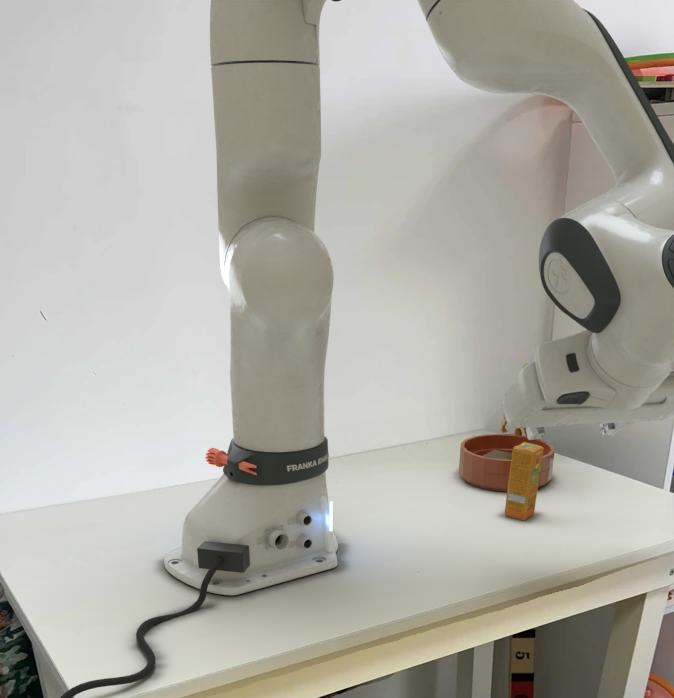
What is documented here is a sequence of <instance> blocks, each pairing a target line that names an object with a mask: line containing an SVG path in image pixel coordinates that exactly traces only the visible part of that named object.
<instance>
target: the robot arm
mask: <svg viewBox="0 0 674 698" xmlns="http://www.w3.org/2000/svg"><path fill="white" fill-rule="evenodd" d="M331 1H332V2H335V3H336V2H340V1H342V0H331ZM326 2H327V0H210V8H209V9H210V11H209V51H210V52H209V53H210V71H211V72H210V73H211V88H212V105H213V118H214V119H213V121H214V134H215V137H214V138H215V149H216V150H215V151H216V190H217V191H216V193H217V194H216V195H217V220H218V221H217V222H218V224H217V225H218V244H219V245H218V247H219V248H218V249H219V266H220V274H221V277H222V280H223V283H224V285H225V287H226V289H227V292H228V295H229V313H230V314H229V318H230V319H229V322H230V323H229V325H230V363H229V365H230V366H229V367H230V368H229V381H230V400H231V417H232V435H233V437H232V439H231V440H230V443H229V445H228V449H227V452H226V451H224V450H220V449H218V448H217V447H210V448H209V449H207V452H206V453H205V459H206V460H205V461H206V462H207V463H208V464H209V465H211V466H215V467H217V468H222V475H221V476H220V477H219V478H218V480H217V481H216V482H215V483H214V484H213V485H212V486H211V487H210V489H209V490H208V491H207V492H206V493H205V494H204V495H203V496H202V497H201V498H200V499H199V501H198V502H197V503H196V504H195V505H194V506H193V507H192V508H191V509H190V510H189V511H188V512H187V514H186V515H185V517H184V519H183V523H182V532H181V546H180V547H178V548H176V549H174V550H172V551H170V552H168V553H165V555H164V560H163V565H164V568H165V570H167V572H168V573H169V574H170V575H171V576H173V577H174V578H176V579H177V580H179V581H180V582H183V583H185V584H187V585H188V586H191V587H193V588H196V589H199V595H198V598H197V600H196V601H195V602H193V604H192V605H190V606H189V607H188V608H186V609H184V610H181V611H178V612H175V613H169V614H165V615H159V616H153V617H151V618H148V619H146V620H144V621H143V622H142V623H141V624H140V625H139V627H138V628H137V630H136V633H135V636H136V637H135V638H136V641H137V643H138V646H139V647H140V648H141V650H142V651H143V652H144V654H145V656H146V658H147V664H146V665H145V667H144V668H143V669H141V670H140V671H138V672H136V673H133V674H129V675H124V676H117V677H107V678H99V679H95V680H89V681H86V682H82V683H79V684H77V685H75V686H73V687H71V688H69V689H68V690H67V691H65V692H64V693H63V694H62V695H61V696H60V697H59V698H74V697H75V696H76V695H79V694H81V693H83V692H85V691H89V690H92V689H97V688H104V687H111V686H120V685H127V684H131V683H135V682H138V681H141V680H143V679H145V678H146V677H147V676H149V675H150V674H151V673H152V671H153V670H154V668H155V665H156V655H155V652H154V651H153V650H152V648H151V647H150V645H149V644H148V642H147V641H146V639H145V637H144V633H145V632H146V630H147V629H148V628H150V627H152V626H154V625H157V624H161V623H165V622H168V621H171V620H174V619H177V618H180V617H183V616H186V615H189V614H192V613H195V612H196V611H198V609H200V608H201V607H202V606H203V604H204V603H205V601H206V597H207V592H208V593H211V594H216V595H224V596H237V595H241V594H244V593H249V592H252V591H257V590H260V589H263V588H267V587H271V586H275V585H277V584H281V583H285V582H289V581H292V580H295V579H296V580H297V579H300V578H302V577H306V576H310V575H313V574H314V575H315V574H318V573H320V572H324V571H327V570H332V569H334V568H336V567H337V566H338V565H339V564H338V563H339V562H338V557H337V551H338V550H339V542H338V540H337V536H336V533H335V529H334V525H333V501H329V493H328V486H327V485H328V484H327V474H326V473H327V470H328V469H329V458H330V452H329V440H328V438H327V436H325V370H326V360H327V353H328V345H329V337H330V326H331V313H332V297H333V289H334V269H333V263H332V259H331V256H330V253H329V250H328V249H327V246H326V245H325V244H324V242H323V241H322V239H321V237H319V236H318V235H317V234H316V233H315V226H316V225H315V223H316V222H315V221H316V206H317V205H316V204H317V191H318V182H319V181H318V180H319V171H320V163H321V158H322V119H321V118H322V110H321V109H322V108H321V107H322V106H321V105H322V104H321V102H322V101H321V67H320V66H321V57H320V24H321V16H322V11H323V8H324V5H325V3H326ZM416 2H417V3H418V5H419V7H420V11H421V12H422V15H423V16H424V19H425V21H426V23H427V26H428V28H429V30H430V32H431V34H432V37H433V39H434V41H435V43H436V46H437V47H438V50H439V52H440V54H441V55H442V58H443V60H444V61H445V62H446V64H447V65H448V67H449V69H451V71H452V72H453V73H454V74H455V76H456V77H457V78H458V79H459V80H461V81H462V82H464V83H465V84H467V85H469V86H471V87H473V88H475V89H477V90H481V91H484V92H488V93H494V94H503V95H505V94H531V95H538V96H539V95H540V96H544V97H548V98H552V99H554V100H557V101H560V102H562V103H563V104H565V105H566V106H568V107H569V108H570V109H571V110H573V112H574V113H575V114H576V115H577V116H578V118H579V119H580V121H581V122H582V124H583V126H584V128H585V130H586V131H587V133H588V134H589V136H590V138H591V140H592V141H593V143H594V145H595V146H596V148H597V150H598V151H599V153H600V155H601V156H602V158H603V160H604V161H605V163H606V165H607V167H608V169H609V170H610V172H611V173H612V175H613V177H614V181H615V182H614V183H615V186H614V187H612V188H611V189H609V190H607V191H605V192H604V193H602V194H600V195H598V196H596V197H594V198H591V199H589V200H587V201H586V202H584V203H582V204H580V205H579V206H577V207H575V208H573V209H572V210H570V211H568V212H567V213H565V214H563V215H561V216H560V217H559V218H556V219H555V220H553V221H552V222H550V224H549V225H548V226H547V227H546V229H545V230H544V232H543V235H542V238H541V240H540V245H539V249H538V271H539V277H540V281H541V285H542V287H543V289H544V291H545V293H546V295H547V296H548V298H549V299H550V300H551V301H552V303H554V305H555V306H556V307H557V309H559V310H560V311H561V312H563V313H564V314H565V315H566V316H568V317H569V318H570V319H572V320H573V321H575V322H576V323H577V324H578V325H579V326H581V327H582V328H584V329H585V330H582V331H580V332H578V333H575V334H571V335H569V336H565V337H561V338H557V339H553V340H549V341H545V342H542V343H540V344H539V345H537V346H536V347H535V349H534V352H533V353H534V354H533V355H534V361H532V362H529V363H527V364H528V365H527V366H525V367H524V368H523V367H522V369H521V370H520V371H519V372H518V373H517V375H516V376H515V378H514V379H513V381H512V382H511V383H510V385H509V386H508V388H507V390H506V391H505V393H504V395H503V398H502V406H503V407H502V408H503V415H504V414H505V418H506V421H507V425H508V426H509V427H510V428H511V429H516V428H520V429H523V428H526V433H527V437H528V440H537V439H540V440H542V438H543V437H544V435H545V434H546V431H545V428H549V427H565V426H581V425H582V426H583V425H599V430H601V431H600V432H601V436H615V435H616V434H617V433H618V432H619V431H620V430H622V429H624V428H626V427H629V426H631V425H633V424H635V423H636V422H653V421H664V420H666V419H669V418H670V417H672V416H673V415H674V142H673V140H672V138H671V137H670V136H669V134H668V132H667V130H666V128H665V127H664V125H663V124H662V121H661V120H660V118H659V116H658V114H657V113H656V112H655V109H654V108H653V105H652V104H651V102H650V100H649V99H648V96H647V95H646V94H645V91H644V90H643V89H642V86H641V84H640V83H639V81H638V79H637V78H636V76H635V74H634V72H633V70H632V69H631V67H630V65H629V64H628V62H627V60H626V58H625V57H624V55H623V53H622V52H621V50H620V48H619V47H618V45H617V43H616V42H615V40H614V38H613V36H611V34H610V32H609V31H608V29H607V28H606V27H605V26H604V24H603V23H602V22H601V21H600V20H599V18H598V17H597V16H596V15H594V14H593V13H592V12H590V11H589V10H587V9H584V8H583V7H581V6H580V5H579V4H578V3H577V2H576V1H575V0H417V1H416ZM543 427H544V428H543Z"/></svg>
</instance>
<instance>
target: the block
mask: <svg viewBox="0 0 674 698" xmlns="http://www.w3.org/2000/svg"><path fill="white" fill-rule="evenodd" d="M483 456H484V457H489V458H495V459H506V460H511V459H512V453H509V452H504V451H499V450H493V451H491V452H489V453H487V454H485V455H483Z"/></svg>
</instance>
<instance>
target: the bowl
mask: <svg viewBox="0 0 674 698" xmlns="http://www.w3.org/2000/svg"><path fill="white" fill-rule="evenodd" d="M523 442H527V443H531V444H535V445H539V446H542V447H543V448H544V450H543V456H542V463H541V470H540V476H539V483H538V489H539V488H541V487H543V486H544V485H545V484H548V483H549V481H550V480H552V477H553V476H552V475H553V468H554V459H555V447H554V446H553V445H552V444H551V443H549V442H547V441H545V440H542V439H537V440H528V437H527V436H526V435H523V434H522V435H515V434H513V433H486V434H479V435H474V436H471V437H467V438H465V439H464V440H463V441H461V442H460V448H459V462H458V463H459V465H458V475H459V476H460V477H461V478H462V479H463V480H464V481H465V482H467V483H468V484H470V485H472V486H473V487H474V486H475V487H477V488H481V489H484V490H490V491H497V492H507V490H508V482H509V474H510V467H511V460H506V459H495V458H489V457H484V456H483V455H485V454H487V453H489V452H491V451H493V450H499V451H504V452H509V453H512V452H513V448H514V447H515V446H518V445H520V444H522V443H523Z"/></svg>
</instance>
